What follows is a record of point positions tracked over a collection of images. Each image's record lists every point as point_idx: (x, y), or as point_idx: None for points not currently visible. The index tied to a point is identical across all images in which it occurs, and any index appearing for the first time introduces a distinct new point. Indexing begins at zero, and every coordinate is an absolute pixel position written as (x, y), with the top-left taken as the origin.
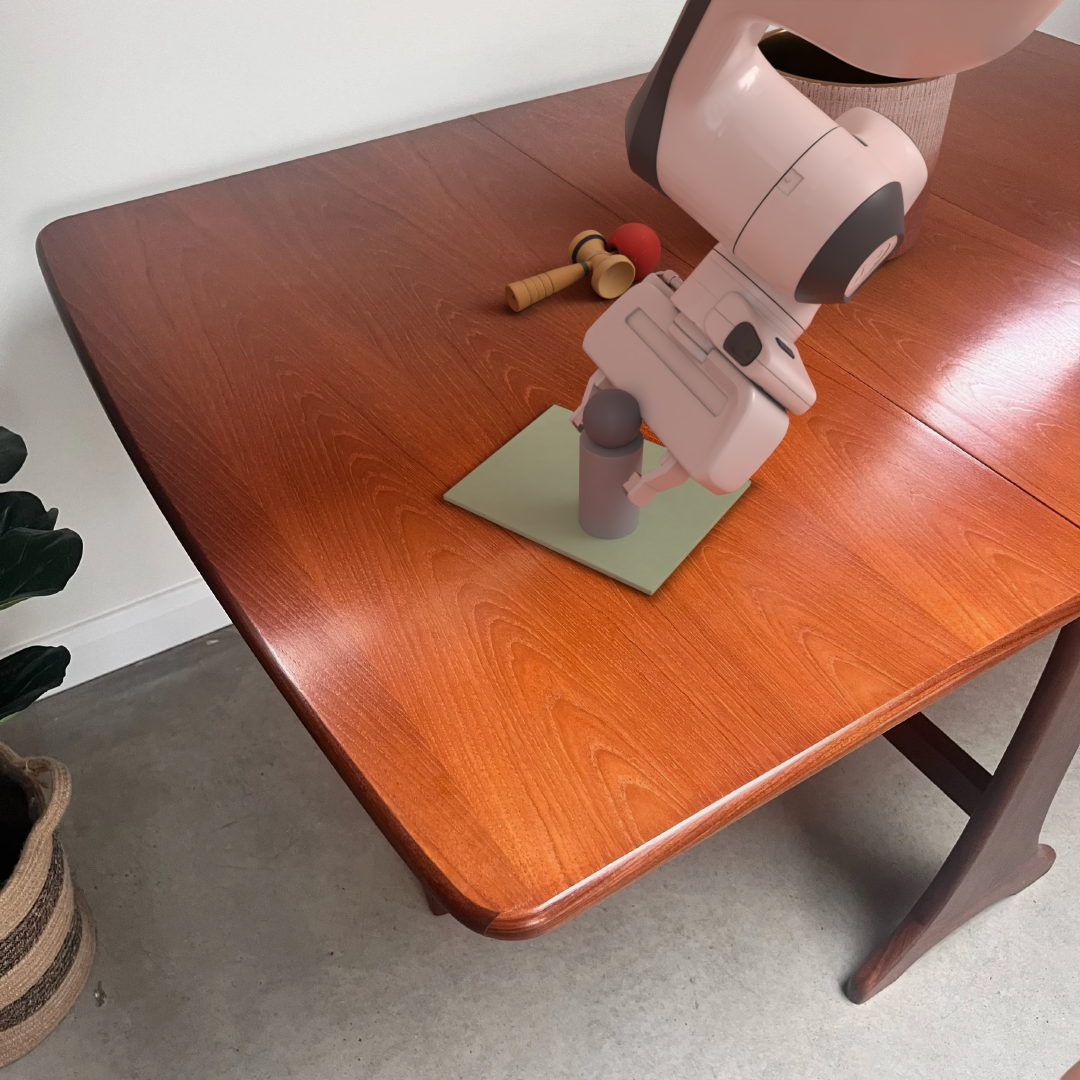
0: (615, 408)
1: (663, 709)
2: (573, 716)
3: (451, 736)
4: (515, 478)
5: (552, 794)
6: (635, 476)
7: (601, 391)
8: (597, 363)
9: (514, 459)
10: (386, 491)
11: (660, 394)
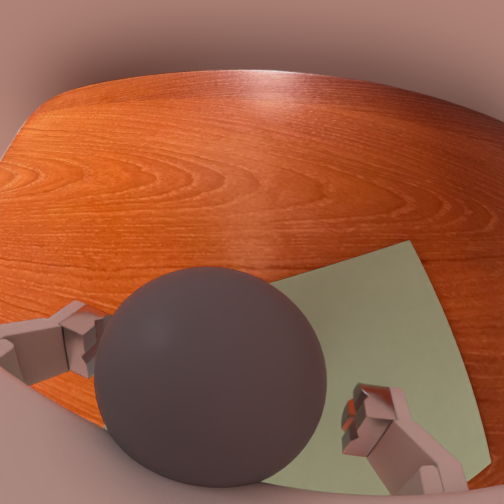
0: (127, 322)
1: (15, 235)
2: (65, 177)
3: (128, 111)
4: (398, 334)
5: (49, 140)
6: (78, 327)
7: (268, 353)
8: (480, 491)
9: (433, 356)
10: (440, 206)
11: (31, 499)
